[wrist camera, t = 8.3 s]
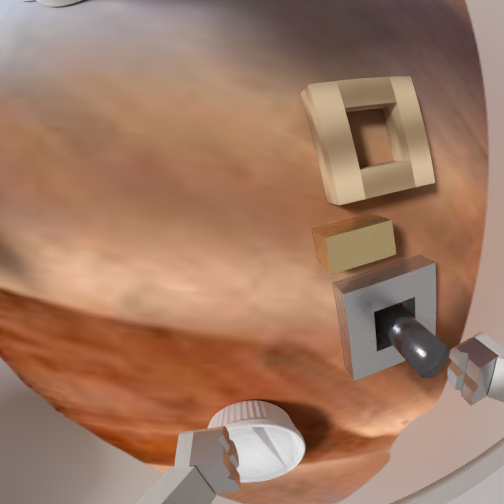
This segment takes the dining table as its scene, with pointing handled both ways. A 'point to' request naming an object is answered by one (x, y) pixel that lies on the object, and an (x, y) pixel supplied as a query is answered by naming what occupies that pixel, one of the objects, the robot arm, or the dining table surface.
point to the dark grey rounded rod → (412, 340)
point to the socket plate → (379, 297)
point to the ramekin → (261, 439)
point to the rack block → (342, 146)
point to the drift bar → (354, 242)
